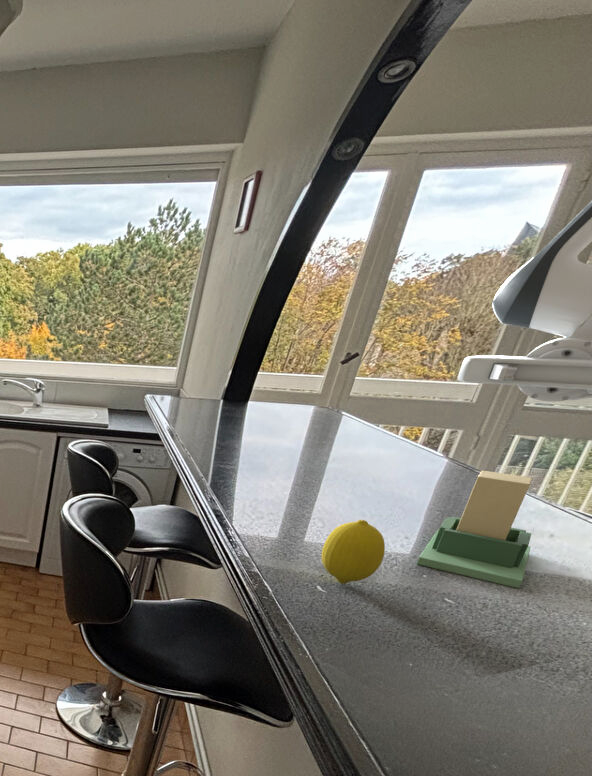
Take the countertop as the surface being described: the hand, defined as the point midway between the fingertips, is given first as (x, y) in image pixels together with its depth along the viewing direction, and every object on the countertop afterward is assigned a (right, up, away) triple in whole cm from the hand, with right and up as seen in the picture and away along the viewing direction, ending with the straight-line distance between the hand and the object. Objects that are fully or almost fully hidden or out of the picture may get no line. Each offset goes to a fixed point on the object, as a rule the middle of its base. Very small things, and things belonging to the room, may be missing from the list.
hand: (557, 376), depth 78 cm
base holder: (-13, -24, -1) cm, 27 cm away
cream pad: (-13, -23, -1) cm, 26 cm away
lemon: (-35, -27, -8) cm, 45 cm away
